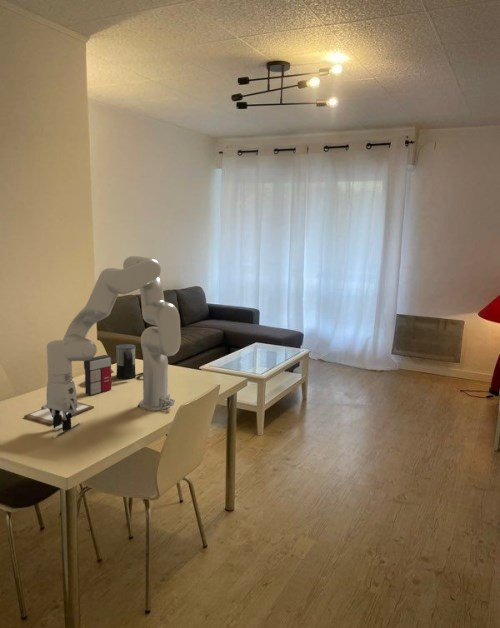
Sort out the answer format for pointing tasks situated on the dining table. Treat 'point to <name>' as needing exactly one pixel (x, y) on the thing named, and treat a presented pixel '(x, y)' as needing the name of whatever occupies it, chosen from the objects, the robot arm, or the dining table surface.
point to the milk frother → (126, 361)
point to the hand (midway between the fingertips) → (62, 428)
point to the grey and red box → (97, 374)
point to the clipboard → (45, 413)
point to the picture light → (65, 430)
